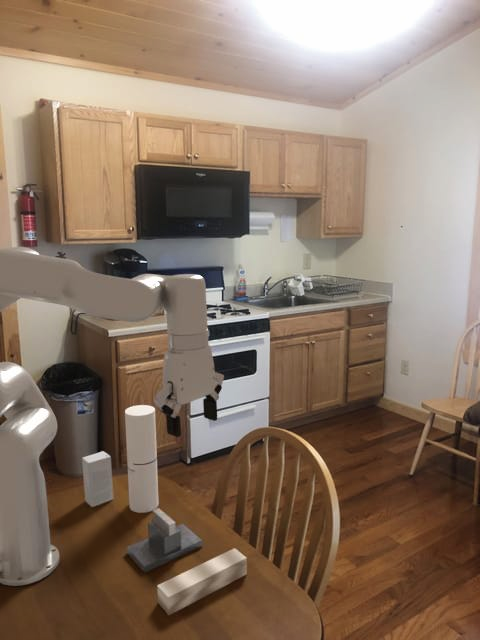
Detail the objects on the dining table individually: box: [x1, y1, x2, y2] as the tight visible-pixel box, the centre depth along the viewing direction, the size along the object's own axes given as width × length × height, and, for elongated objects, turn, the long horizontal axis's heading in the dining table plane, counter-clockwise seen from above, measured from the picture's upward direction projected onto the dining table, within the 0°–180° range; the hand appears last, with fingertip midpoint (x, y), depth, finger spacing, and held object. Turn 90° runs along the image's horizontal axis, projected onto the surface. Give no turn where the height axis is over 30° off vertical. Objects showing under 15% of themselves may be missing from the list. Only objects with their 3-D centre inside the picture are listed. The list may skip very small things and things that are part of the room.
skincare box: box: [81, 450, 114, 508], centre depth 131 cm, size 6×4×12 cm
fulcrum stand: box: [126, 507, 203, 574], centre depth 112 cm, size 14×8×8 cm, turn 128°
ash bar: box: [156, 547, 248, 616], centre depth 101 cm, size 18×4×4 cm, turn 128°
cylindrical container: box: [124, 404, 159, 514], centre depth 128 cm, size 7×7×25 cm
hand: (193, 426), depth 101 cm, fingers open, 9 cm apart
